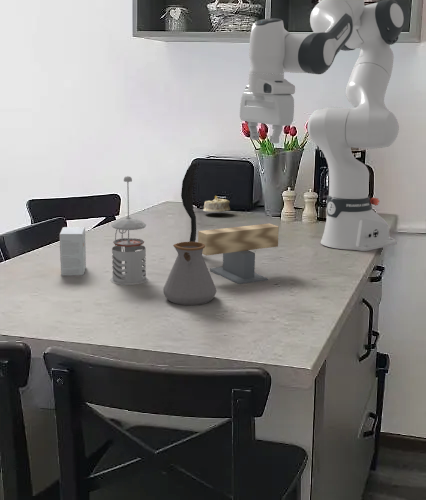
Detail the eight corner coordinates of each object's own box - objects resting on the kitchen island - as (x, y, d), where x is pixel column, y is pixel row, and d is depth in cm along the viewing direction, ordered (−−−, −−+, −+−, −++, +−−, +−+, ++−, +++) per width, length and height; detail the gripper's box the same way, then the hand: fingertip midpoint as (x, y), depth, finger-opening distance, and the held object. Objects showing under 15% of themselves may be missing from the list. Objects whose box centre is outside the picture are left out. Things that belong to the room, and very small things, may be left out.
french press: (116, 289, 171) (114, 180, 165) (100, 276, 181) (97, 173, 175) (156, 284, 175) (156, 177, 169) (138, 272, 185) (136, 171, 179)
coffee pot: (165, 294, 168) (165, 228, 164) (217, 295, 167) (217, 229, 164) (155, 326, 147) (155, 252, 143) (214, 328, 147) (215, 253, 143)
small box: (63, 267, 188) (62, 226, 186) (86, 267, 189) (85, 226, 186) (60, 276, 181) (58, 233, 178) (83, 276, 181) (82, 233, 179)
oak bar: (268, 243, 187) (269, 223, 185) (278, 246, 183) (278, 226, 182) (198, 251, 177) (198, 231, 176) (206, 255, 174) (206, 234, 172)
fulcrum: (237, 268, 190) (238, 241, 188) (267, 282, 178) (268, 253, 176) (210, 272, 186) (210, 244, 184) (238, 286, 174) (239, 257, 172)
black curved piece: (194, 258, 199) (194, 164, 193) (180, 257, 200) (181, 163, 194) (202, 251, 207) (203, 160, 201) (189, 250, 207) (189, 160, 201)
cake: (235, 210, 268) (236, 195, 266) (221, 214, 259) (221, 199, 258) (211, 207, 272) (212, 192, 271) (197, 211, 264) (197, 196, 263)
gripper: (234, 84, 195) (233, 138, 198) (277, 87, 178) (275, 145, 181) (255, 84, 198) (253, 137, 201) (299, 87, 181) (297, 144, 184)
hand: (264, 141), depth 191 cm, fingers open, 8 cm apart
